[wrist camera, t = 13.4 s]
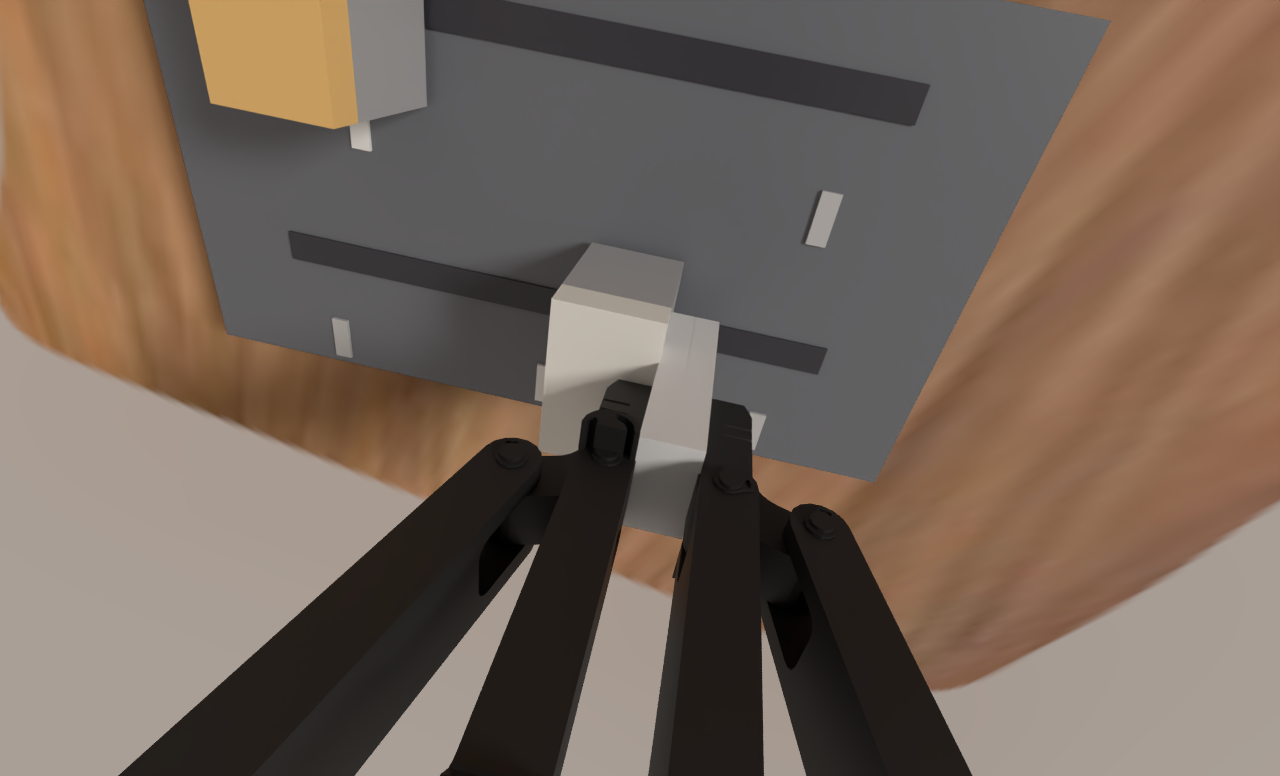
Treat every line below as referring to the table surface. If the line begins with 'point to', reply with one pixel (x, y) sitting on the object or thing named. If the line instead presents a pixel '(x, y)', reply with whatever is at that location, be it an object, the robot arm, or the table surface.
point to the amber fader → (313, 57)
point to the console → (648, 192)
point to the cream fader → (603, 335)
